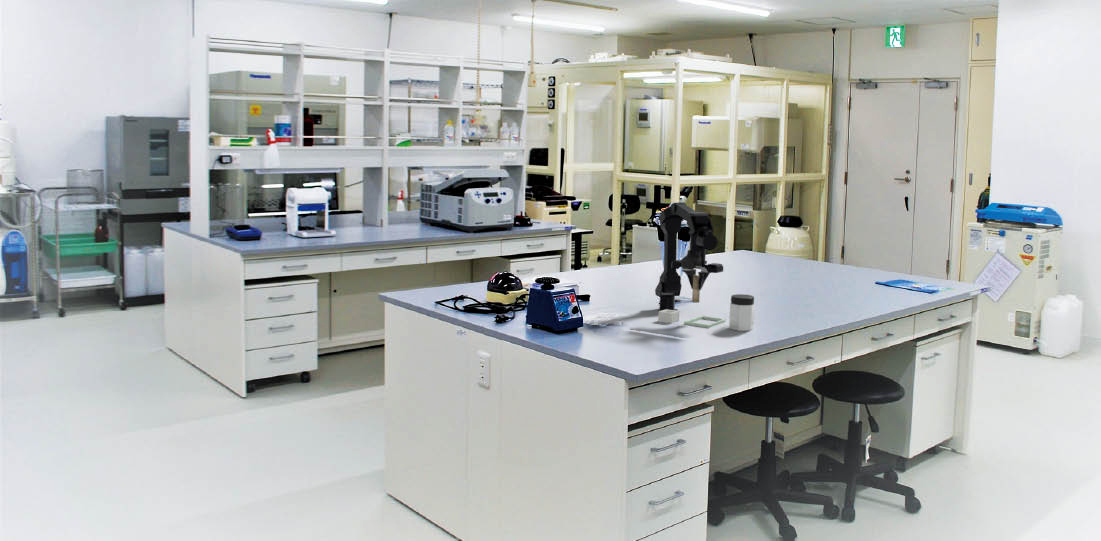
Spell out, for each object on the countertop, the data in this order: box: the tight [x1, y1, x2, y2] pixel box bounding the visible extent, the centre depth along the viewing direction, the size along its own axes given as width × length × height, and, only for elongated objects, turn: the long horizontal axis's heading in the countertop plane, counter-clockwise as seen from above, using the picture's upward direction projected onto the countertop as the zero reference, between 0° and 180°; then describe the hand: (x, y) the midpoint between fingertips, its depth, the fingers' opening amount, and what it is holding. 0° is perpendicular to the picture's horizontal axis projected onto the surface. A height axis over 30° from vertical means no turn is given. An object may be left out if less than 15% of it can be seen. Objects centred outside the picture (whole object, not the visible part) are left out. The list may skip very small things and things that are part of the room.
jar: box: [728, 293, 755, 332], centre depth 323 cm, size 9×8×12 cm
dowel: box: [691, 274, 701, 304], centre depth 327 cm, size 3×3×10 cm
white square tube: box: [657, 309, 680, 324], centre depth 331 cm, size 6×6×4 cm
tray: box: [683, 315, 727, 329], centre depth 329 cm, size 14×10×2 cm
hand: (696, 289), depth 328 cm, fingers closed on dowel, 3 cm apart
